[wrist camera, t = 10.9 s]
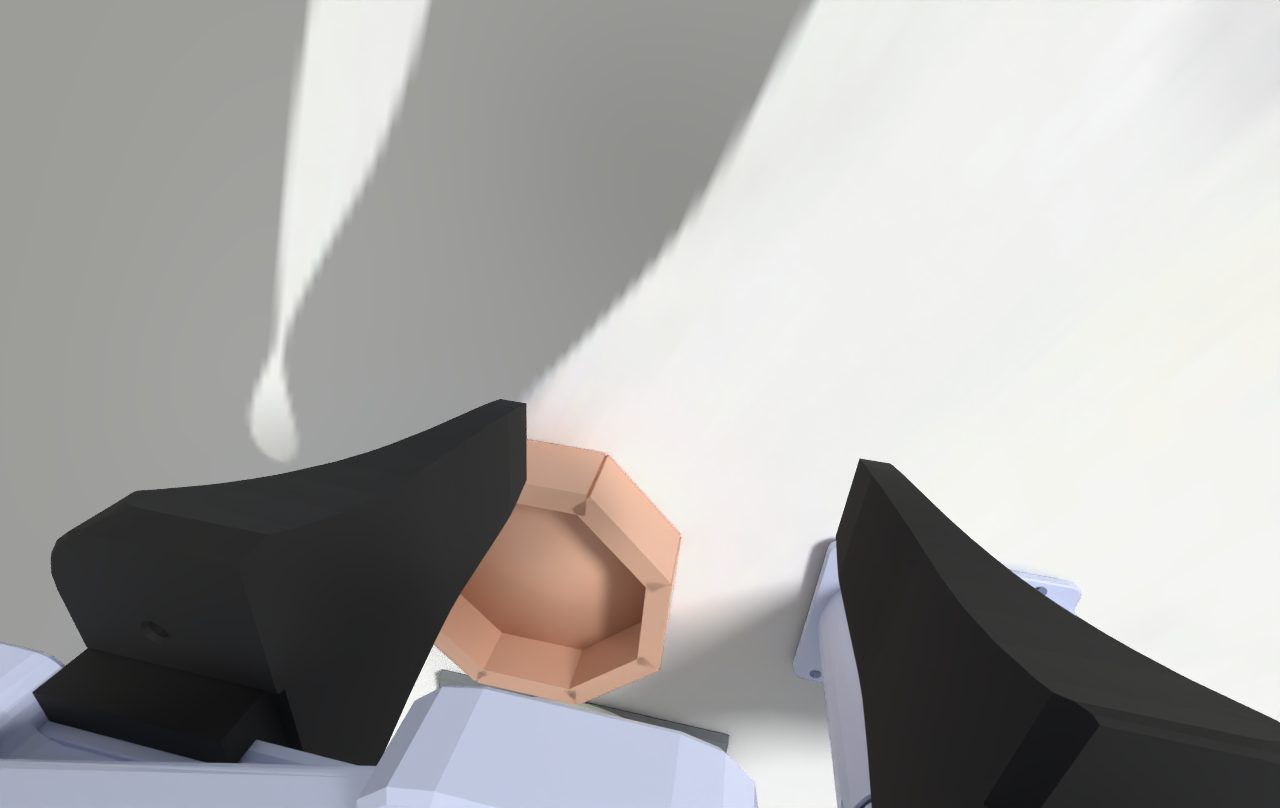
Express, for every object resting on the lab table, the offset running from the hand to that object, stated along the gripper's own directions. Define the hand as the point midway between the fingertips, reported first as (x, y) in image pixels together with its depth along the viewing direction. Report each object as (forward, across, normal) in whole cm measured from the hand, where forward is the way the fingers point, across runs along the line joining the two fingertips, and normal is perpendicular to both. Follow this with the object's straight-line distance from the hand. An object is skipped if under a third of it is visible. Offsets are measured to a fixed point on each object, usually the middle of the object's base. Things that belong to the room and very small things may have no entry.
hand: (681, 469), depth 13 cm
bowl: (+9, +6, +12) cm, 16 cm away
